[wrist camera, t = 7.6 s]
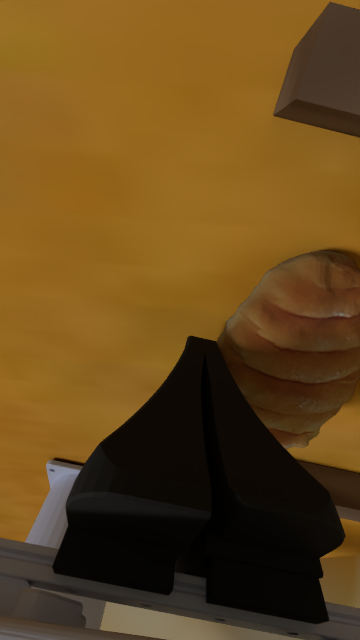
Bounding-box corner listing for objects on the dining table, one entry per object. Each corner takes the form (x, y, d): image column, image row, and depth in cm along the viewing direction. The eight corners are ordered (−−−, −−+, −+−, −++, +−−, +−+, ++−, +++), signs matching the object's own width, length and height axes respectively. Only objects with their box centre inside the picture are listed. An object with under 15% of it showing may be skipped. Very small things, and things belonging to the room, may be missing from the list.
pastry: (235, 233, 10) (248, 266, 7) (401, 255, 10) (493, 299, 7) (200, 389, 15) (198, 449, 12) (310, 404, 15) (338, 470, 12)
